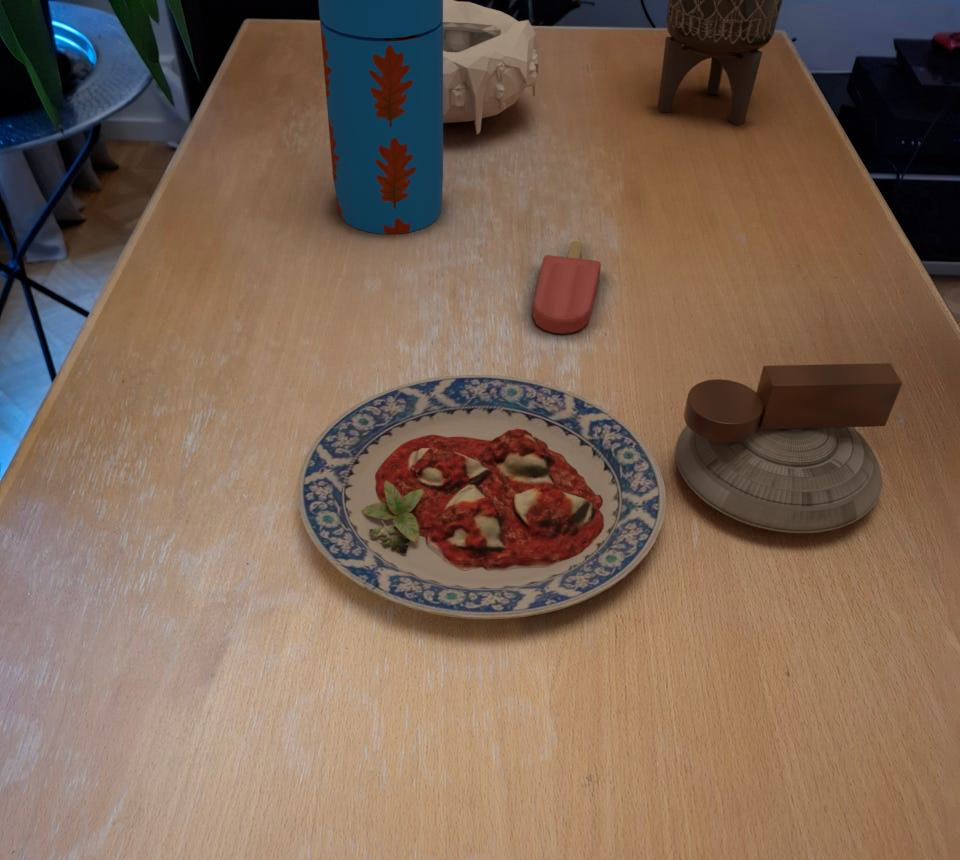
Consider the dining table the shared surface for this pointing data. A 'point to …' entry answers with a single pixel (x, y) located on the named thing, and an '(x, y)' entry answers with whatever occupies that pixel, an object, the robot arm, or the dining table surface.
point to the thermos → (385, 110)
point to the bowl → (484, 61)
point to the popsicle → (565, 291)
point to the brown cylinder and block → (793, 400)
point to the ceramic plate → (481, 496)
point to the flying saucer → (784, 477)
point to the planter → (717, 46)
